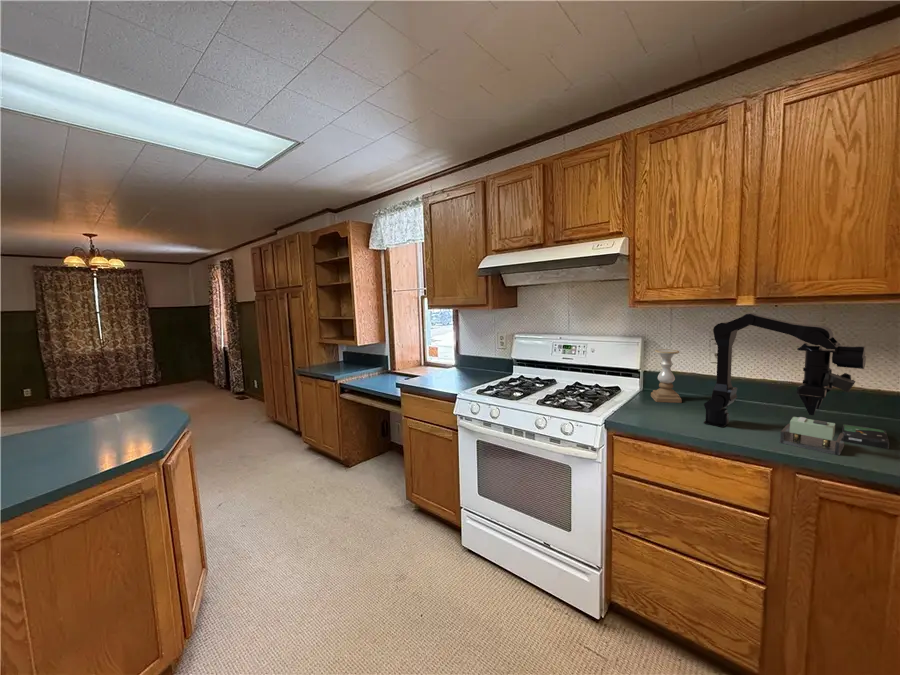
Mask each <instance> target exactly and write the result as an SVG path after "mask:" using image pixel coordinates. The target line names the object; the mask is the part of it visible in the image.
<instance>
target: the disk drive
mask: <svg viewBox="0 0 900 675" xmlns="http://www.w3.org/2000/svg"><path fill="white" fill-rule="evenodd" d="M841 433H843V434H844V442H843V443H850V444H851V443H852V444H855V445H862V446H867V447H874V448H877V449H885V450H889V449H890V440H889V438H888V434H887V433H888V432H887V430H886V429H881V428H875V427H868V426H859V425H852V424H848V423H845V424H842V428H841Z"/></svg>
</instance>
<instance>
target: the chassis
mask: <svg viewBox="0 0 900 675" xmlns="http://www.w3.org/2000/svg"><path fill="white" fill-rule="evenodd" d="M778 442H779V443H781V444H785V445H789V446H794V447H799V448H801V449H802V448H804V449H808V450H813V451H816V450H817V451H818V452H821V451H822V452H823V453H827V454H830V453H831V454H830V455H836V456H840V455H841V453H842V451H843V449H844V447H845V442H844V434H843V433H842V432H840V433H839V435H838V437H837V439H836V440H834V439H833V440H827V439H822V438H817V437H811V436H806V435H801V434H796V433H790V423H787V424H786V425H785V426H784V427H783V429H781V430H780V439H779V441H778ZM817 451H816V452H817Z"/></svg>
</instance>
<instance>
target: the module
mask: <svg viewBox="0 0 900 675" xmlns="http://www.w3.org/2000/svg"><path fill="white" fill-rule="evenodd" d="M789 424H790V433H796V434H801V435H806V436H811V437H817V438H822V439H827V440H833V441H834V437H835V435H836V434H835V432H836V423H835V422H828V421H823V420H817V419H811V418H806V417H803V416H799V417H797V416H792V417H791V419H790V421H789Z"/></svg>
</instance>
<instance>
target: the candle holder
mask: <svg viewBox="0 0 900 675" xmlns="http://www.w3.org/2000/svg"><path fill="white" fill-rule="evenodd" d="M654 353H655V354H659V355H660V357H661V362H660V365H661V367H662V368H661V371H660V372H659V373H658V375H657V380H658V381H659V384H658V387H659V388H658V389H653V390H652V392H650V397H651V399H653V400H654V401H655V403H656V402H657V403H674V404H677V403H678V404H681V403H682V400H683V399H682V397H680V395H679V394H678V392H676V390H674V384H673V382H675V380H676V377H675V375H674V373H673V372H672V370H671V368H672V367H673V365H674V364H673V362H672V358H673V357H674V355H678V354H680V350H678V349H665V348H661V349H655V350H654Z"/></svg>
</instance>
